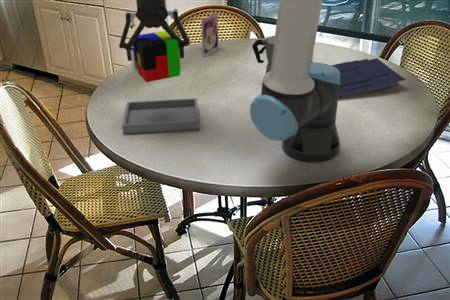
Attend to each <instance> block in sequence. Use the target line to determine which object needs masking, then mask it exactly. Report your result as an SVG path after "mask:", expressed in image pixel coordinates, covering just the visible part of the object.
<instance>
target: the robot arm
mask: <svg viewBox="0 0 450 300" xmlns="http://www.w3.org/2000/svg"><path fill="white" fill-rule="evenodd" d="M135 1H136V12H135V11H130V10H127V11H126V12H125V24H124V28H123V31H122V35H121V38H120V40H119V41H120V42H119V44H118V47H119V48H120V49H124V50H126V56H127V61H128V62H131V64H132V72H133V74H137V71H136V70H137V69H136V60H135V52H134V47H132V46H133V44H134V42H135V41H136V39H137V38H138V36H139V35H141V33H142V32H143V30H144V29H145V28H146V29H151V28H154V29H155V28H156V29H159V28H160V27H161V28H162V29H163V31H166V32H167V33H168V34H169V35H170V37H171V38H172V39H176V40H178V48H179V62H180V72H181V71H182V66H181V65H182V64H181V59H184V58H185V47H186V46H189V45H190V44H191V42H190V38H189V36H188V34H187V32H186V29H185V27H184V26H183V24H182V22H181V19H180V18H179V11H178V9H177V8H174V9H173V10H168V9H167V6H166V0H135ZM322 4H323V0H279V1H278V8H277V9H278V10H277V17H276V18H277V19H276V26H275V31H274V32H275V33H274V36H275V40H274V48H273V57H272V65H271V71H269V72H268V73H266V72H265V73H266V74H264V75H263V77H262V83H261V90H260V92H261V93H260V95H257V96H255V98H253V100H252V102H251V103H250V107H249V114H250V119H251V121H252V123H253V125H254V126H255V127H256V129H257V131H258V132H259V133H260V134H261V135H263V136H264V137H265V138H267V139H269V140H273V141H276V142H281V147H282V150H283V152H284V153H285V154H286V155H288V156H289V157H290V158H293V159H294V160H299V161H302V162H310V163H320V162H325V161H328V160H332V159H333V158H335V157H336V156H337V155H338V154H339V152H340V146H341V140H340V136H339V131H338V128H337V125H336V121H337V113H338V112H337V111H338V102H339V97H338V96H339V88H340V84H341V83H340V72H339V70H338V69H337V68H335V67H334V66H331V65H332V64H328V63H323V62H318V61H317V62H316V61H312V60H313V57H314V51H315V45H316V44H315V43H316V38H317V34H318V33H317V32H318V28H319V21H320V16H321V12H322V6H323V5H322ZM168 16H169V17H170V18H171V20H173V21H174V24H175V26H176V27H177V30H178V32H179V34H180V36H181V38H180V37H179V35H178V34H177V33H176V32H175V30H174V29H172V27H171V26H170V25H169V23H168V22H167V20H166V19H167V18H168ZM135 18H136V19H138V21H139V24H138V26H137V28H136V29H135V30H134V32H133V34H132V35H131V36H132V37H130V39H129V40H128V42H126V41H127V36H128V33H129V29H130V26H131V22H132V21H134V19H135Z"/></svg>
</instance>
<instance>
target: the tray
mask: <svg viewBox="0 0 450 300" xmlns="http://www.w3.org/2000/svg"><path fill="white" fill-rule="evenodd" d="M198 106H199V105H198V98H197V97H192V98H177V99H175V98H174V99H160V100H159V99H157V100H155V99H154V100H140V101H139V100H138V101H137V100H136V101H126V105H125V108H124V109H125V110H124V115H123V119H122V125H121V127H122V135H123V136H127V135H143V134H144V135H147V134H162V133H177V132H178V133H180V132H196V131H197V132H198V131H200V120H199V118H200V117H199V107H198Z"/></svg>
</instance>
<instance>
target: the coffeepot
mask: <svg viewBox="0 0 450 300" xmlns="http://www.w3.org/2000/svg"><path fill="white" fill-rule="evenodd" d="M274 40H275V35H271V36H266V37H265V38H261V39H256V40H255V41H254V42H253V43H252V50H253V52H254V55H255V58H256V62H257V63H258V64H263V63H264V62H265V60H263V59H261V54H259V51H260V49H259V48H258V46H265V47H266V49H265V54H266V60H267V65H266V68H265V74H266V73H268V72H269V71H271V65H272V57H273V48H274ZM265 74H264V75H265Z"/></svg>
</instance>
